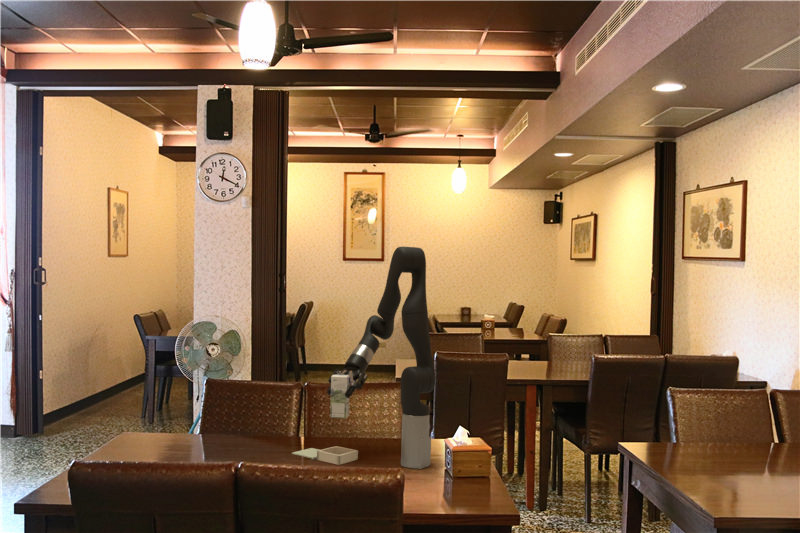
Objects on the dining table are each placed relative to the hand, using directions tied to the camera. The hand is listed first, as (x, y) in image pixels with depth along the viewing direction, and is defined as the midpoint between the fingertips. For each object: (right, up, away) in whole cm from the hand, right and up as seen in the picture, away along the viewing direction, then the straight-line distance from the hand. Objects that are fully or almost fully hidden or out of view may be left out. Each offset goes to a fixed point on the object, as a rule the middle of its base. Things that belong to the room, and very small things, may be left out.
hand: (337, 395), depth 212 cm
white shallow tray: (-5, -22, +3) cm, 23 cm away
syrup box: (+1, -8, +1) cm, 8 cm away
